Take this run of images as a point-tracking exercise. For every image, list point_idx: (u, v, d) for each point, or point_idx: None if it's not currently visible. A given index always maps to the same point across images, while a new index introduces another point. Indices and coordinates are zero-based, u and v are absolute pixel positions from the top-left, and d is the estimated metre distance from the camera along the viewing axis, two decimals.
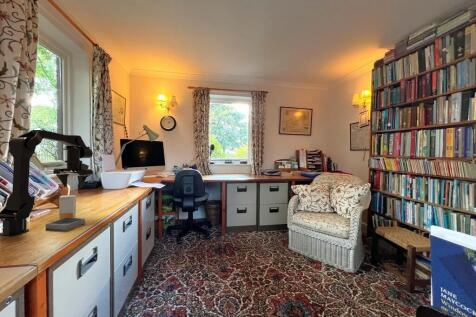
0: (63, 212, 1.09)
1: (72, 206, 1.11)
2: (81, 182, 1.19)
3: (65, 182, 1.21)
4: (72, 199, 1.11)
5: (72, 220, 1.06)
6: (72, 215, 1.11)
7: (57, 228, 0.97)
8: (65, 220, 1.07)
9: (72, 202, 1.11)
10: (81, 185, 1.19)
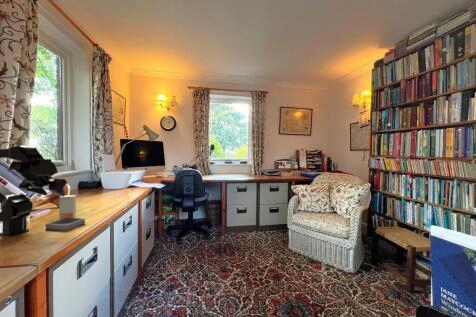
0: (63, 212, 1.09)
1: (72, 206, 1.11)
2: (61, 193, 1.02)
3: (43, 191, 1.04)
4: (72, 199, 1.11)
5: (72, 220, 1.06)
6: (72, 215, 1.11)
7: (57, 228, 0.97)
8: (65, 220, 1.07)
9: (72, 202, 1.11)
10: (63, 194, 1.03)
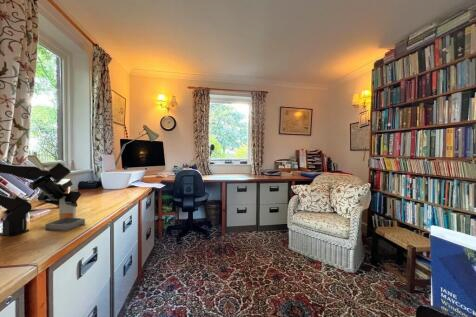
0: (63, 212, 1.09)
1: (72, 206, 1.11)
2: (74, 204, 1.10)
3: None
4: None
5: (72, 220, 1.06)
6: (72, 215, 1.11)
7: (57, 228, 0.97)
8: (65, 220, 1.07)
9: None
10: (75, 205, 1.11)
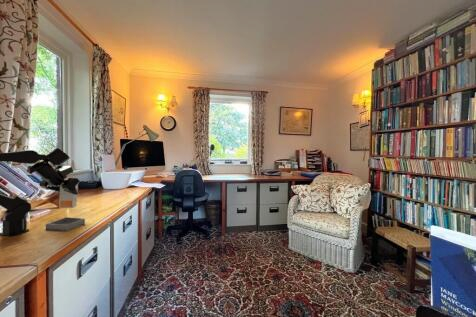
0: (63, 199, 1.08)
1: (72, 194, 1.09)
2: (73, 191, 1.07)
3: None
4: None
5: (72, 220, 1.06)
6: (72, 203, 1.09)
7: (57, 228, 0.97)
8: (65, 220, 1.07)
9: None
10: (75, 193, 1.09)
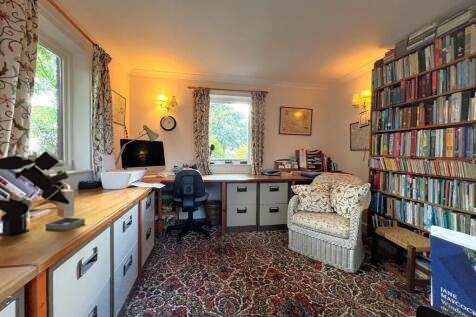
0: (59, 207, 1.00)
1: None
2: (60, 200, 0.97)
3: None
4: None
5: (72, 220, 1.06)
6: (63, 212, 0.99)
7: (57, 228, 0.97)
8: (65, 220, 1.07)
9: None
10: (65, 202, 0.98)
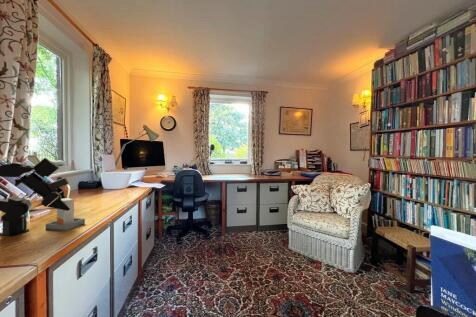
0: (58, 216, 1.00)
1: (63, 212, 0.99)
2: (60, 207, 0.96)
3: None
4: None
5: None
6: (63, 222, 0.99)
7: (57, 228, 0.97)
8: None
9: None
10: (65, 208, 0.98)
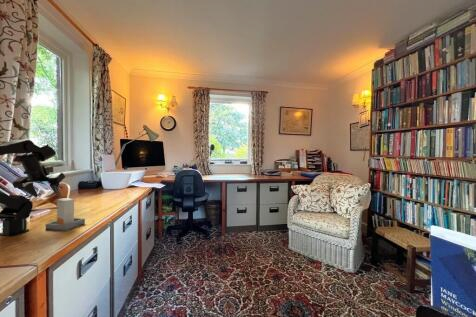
0: (58, 216, 1.00)
1: (63, 212, 0.99)
2: (56, 189, 1.04)
3: (34, 192, 1.04)
4: (63, 204, 0.99)
5: None
6: (63, 222, 0.99)
7: (57, 228, 0.97)
8: None
9: (63, 207, 0.99)
10: (57, 192, 1.06)
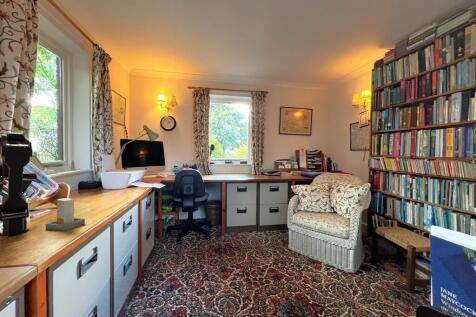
0: (58, 216, 1.00)
1: (63, 212, 0.99)
2: None
3: None
4: (63, 204, 0.99)
5: None
6: (63, 222, 0.99)
7: (57, 228, 0.97)
8: None
9: (63, 207, 0.99)
10: None
